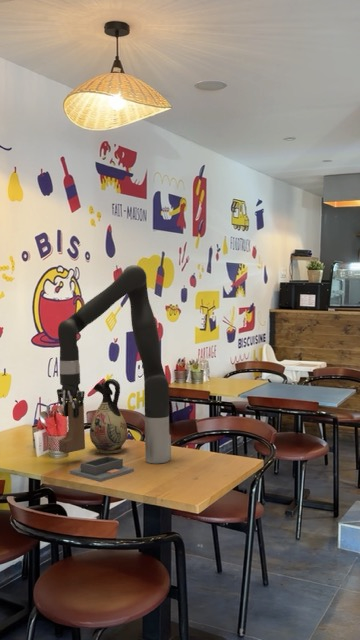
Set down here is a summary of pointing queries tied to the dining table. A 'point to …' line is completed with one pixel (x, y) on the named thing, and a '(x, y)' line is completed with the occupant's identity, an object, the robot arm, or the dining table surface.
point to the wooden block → (74, 432)
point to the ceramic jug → (108, 421)
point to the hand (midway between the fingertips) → (71, 416)
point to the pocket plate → (102, 469)
